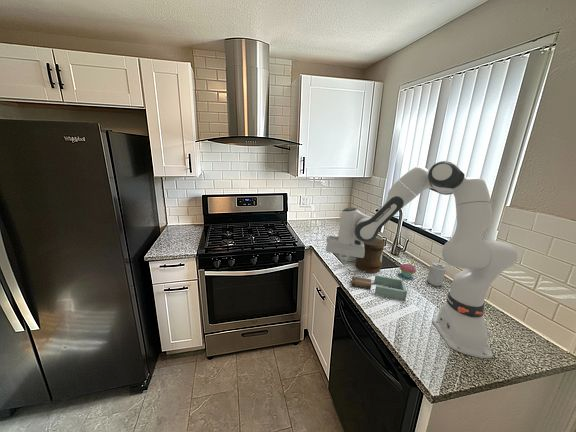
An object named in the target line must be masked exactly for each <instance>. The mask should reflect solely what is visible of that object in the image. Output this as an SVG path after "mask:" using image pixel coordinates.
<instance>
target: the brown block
mask: <svg viewBox="0 0 576 432" xmlns="http://www.w3.org/2000/svg"><path fill="white" fill-rule="evenodd" d="M351 286H352V287H353V286H354V287H361V288H364V289H365V288H366V289H367V290H368V289H369V290H371V289H372V279H371V278H366V277H361V276H357V273H355V272H353V275H352V276H351ZM354 287H353V288H354ZM369 290H368V291H369Z"/></svg>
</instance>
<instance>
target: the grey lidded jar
mask: <svg viewBox="0 0 576 432" xmlns="http://www.w3.org/2000/svg"><path fill="white" fill-rule="evenodd" d="M428 269H429V270H428V275H427V278H426V281H427V282H428V283H429V284H430V285H432V286H433V287H434V286H435V287H440V286H443V284H444V280H445V276H446V271H447V268H446V264H444V263H443V262H440V261H433V262H431V263H430V264H429V268H428Z"/></svg>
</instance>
